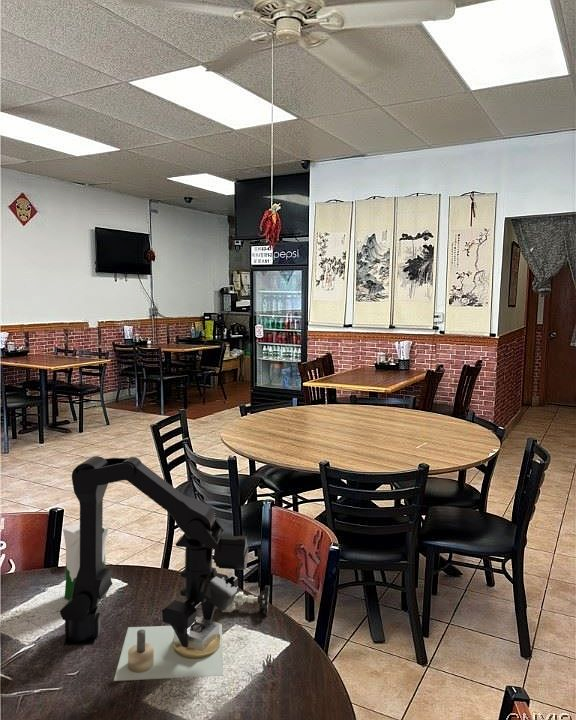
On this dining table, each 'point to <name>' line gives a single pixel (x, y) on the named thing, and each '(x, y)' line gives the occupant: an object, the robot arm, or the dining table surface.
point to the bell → (195, 653)
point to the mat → (167, 657)
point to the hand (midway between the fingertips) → (196, 635)
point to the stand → (140, 655)
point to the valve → (251, 600)
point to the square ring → (201, 634)
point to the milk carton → (76, 555)
